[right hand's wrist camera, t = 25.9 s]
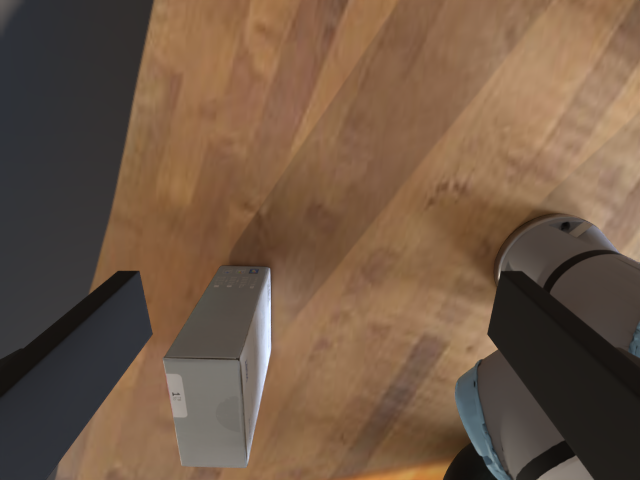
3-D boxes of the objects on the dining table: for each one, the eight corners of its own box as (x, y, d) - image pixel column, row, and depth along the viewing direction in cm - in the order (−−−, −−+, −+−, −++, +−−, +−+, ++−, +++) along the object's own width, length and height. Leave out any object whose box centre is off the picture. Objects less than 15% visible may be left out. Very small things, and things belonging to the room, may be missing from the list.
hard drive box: (219, 264, 51) (161, 354, 32) (270, 265, 51) (242, 357, 32) (225, 349, 57) (179, 469, 38) (272, 351, 57) (249, 470, 38)
